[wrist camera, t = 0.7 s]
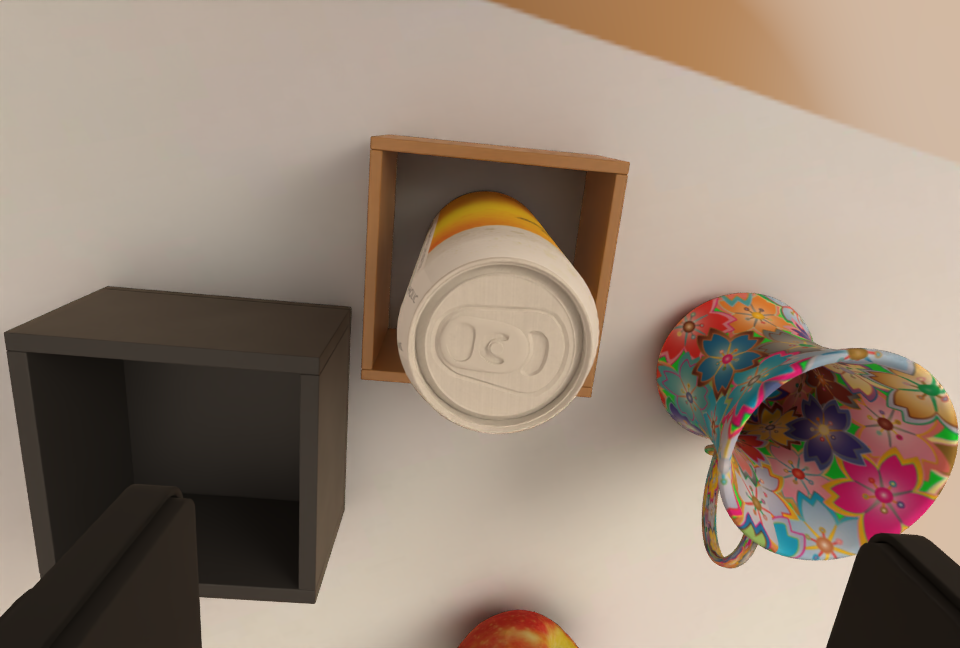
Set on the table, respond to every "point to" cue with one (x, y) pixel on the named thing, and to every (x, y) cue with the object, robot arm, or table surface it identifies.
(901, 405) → the mug
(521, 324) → the beer can
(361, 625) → the table surface
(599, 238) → the wooden square frame
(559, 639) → the apple
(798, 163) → the table surface
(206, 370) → the dark grey open box
